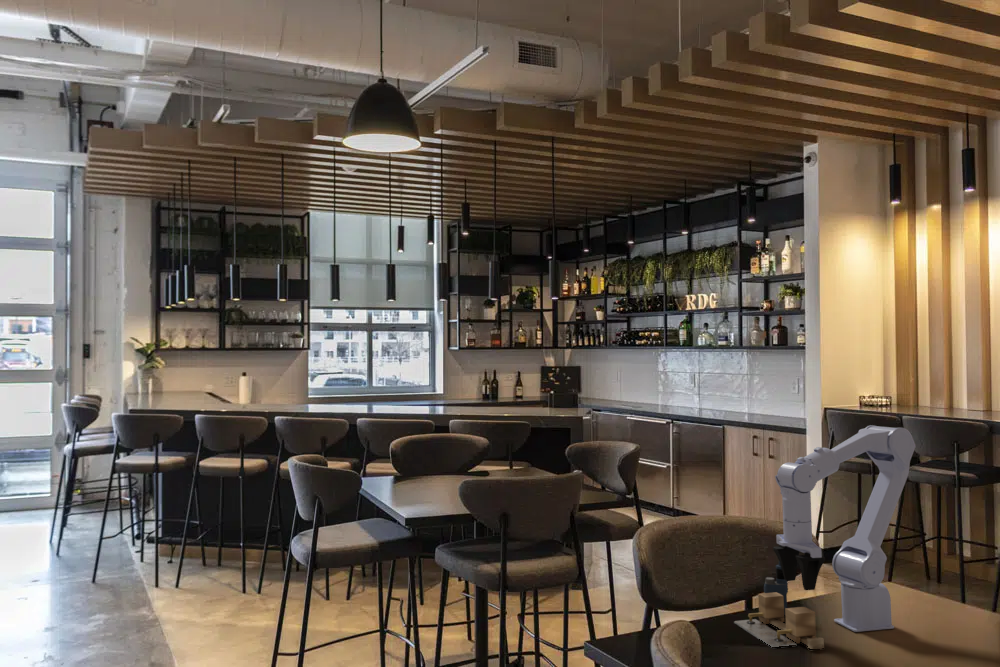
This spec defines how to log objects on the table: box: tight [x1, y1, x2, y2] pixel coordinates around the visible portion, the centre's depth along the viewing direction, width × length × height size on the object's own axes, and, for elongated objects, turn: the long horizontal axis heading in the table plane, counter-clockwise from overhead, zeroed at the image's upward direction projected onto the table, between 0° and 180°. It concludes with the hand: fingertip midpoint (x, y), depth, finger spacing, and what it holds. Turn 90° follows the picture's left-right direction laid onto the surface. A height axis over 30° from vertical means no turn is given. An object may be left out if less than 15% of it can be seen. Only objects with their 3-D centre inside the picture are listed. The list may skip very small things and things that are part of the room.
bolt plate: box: [733, 618, 797, 648], centre depth 176 cm, size 5×17×1 cm, turn 11°
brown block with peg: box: [776, 606, 817, 644], centre depth 171 cm, size 8×4×6 cm, turn 101°
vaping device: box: [763, 561, 789, 615], centre depth 189 cm, size 3×5×12 cm, turn 78°
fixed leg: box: [747, 592, 785, 625], centre depth 183 cm, size 8×3×6 cm, turn 101°
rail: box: [768, 618, 825, 649], centre depth 176 cm, size 3×22×2 cm, turn 11°
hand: (799, 584), depth 175 cm, fingers open, 7 cm apart
